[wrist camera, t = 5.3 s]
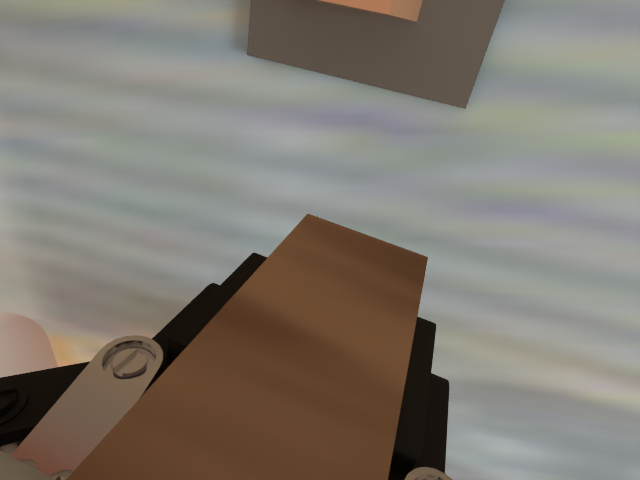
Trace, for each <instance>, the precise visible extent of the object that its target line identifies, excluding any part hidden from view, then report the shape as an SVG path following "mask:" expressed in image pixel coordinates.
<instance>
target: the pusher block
mask: <svg viewBox="0 0 640 480" xmlns="http://www.w3.org/2000/svg"><path fill="white" fill-rule="evenodd" d="M427 259H428V257H426V256H423V255H420V254H418V253H415V252H412V251H409V250H407V249H404V248H401V247H398V246H396V245H393V244H390V243H387V242H385V241H382V240H379V239H376V238H374V237H371V236H368V235H365V234H363V233H360V232H357V231H354V230H352V229H349V228H346V227H343V226H341V225H338V224H335V223H332V222H330V221H327V220H324V219H321V218H319V217H316V216H313V215H310V214H307V215H306V216H305V217H304V218H303V220H302V221H301V222H300V223H299V224H298V225H297V226H296V227H295V228H294V229H293V231H292V232H291V233H290V234H289V235H288V236H287V237H286V238H285V239H284V240H283V242H282V243H281V244H280V245H279V246H278V247H277V248H276V249H275V250H274V251H273V253H272V254H271V255H270V256H269V257H268V258H267V259H266V260H265V261H264V262H263V264H262V265H261V266H260V267H259V268H258V269H257V270H256V271H255V272H254V273H253V275H252V276H251V277H250V278H249V279H248V280H247V281H246V282H245V283H244V284H243V286H242V287H241V288H240V289H239V290H238V291H237V292H236V293H235V294H234V295H233V296H232V298H231V299H230V300H229V301H228V302H227V303H226V304H225V305H224V306H223V307H222V309H221V310H220V311H219V312H218V313H217V314H216V315H215V316H214V317H213V318H212V320H211V321H210V322H209V323H208V324H207V325H206V326H205V327H204V328H203V329H202V331H201V332H200V333H199V334H198V335H197V336H196V337H195V338H194V339H193V340H192V342H191V343H190V344H189V345H188V346H187V347H186V348H185V349H184V350H183V351H182V353H181V354H180V355H179V356H178V357H177V358H176V359H175V360H174V361H173V362H172V364H171V365H170V366H169V367H168V368H167V369H166V370H165V371H164V372H163V373H162V375H161V376H160V377H159V378H158V379H157V380H156V381H155V382H154V383H153V384H152V386H151V387H150V388H149V389H148V390H147V391H146V392H145V393H144V394H143V395H142V397H141V398H140V399H139V400H138V401H137V402H136V403H135V404H134V405H133V406H132V408H131V409H130V410H129V411H128V412H127V413H126V414H125V415H124V416H123V417H122V419H121V420H120V421H119V422H118V423H117V424H116V425H115V426H114V427H113V428H112V430H111V431H110V432H109V433H108V434H107V435H106V436H105V437H104V438H103V439H102V441H101V442H100V443H99V444H98V445H97V446H96V447H95V448H94V449H93V450H92V452H91V453H90V454H89V455H88V456H87V457H86V458H85V459H84V460H83V461H82V463H81V464H80V465H79V466H78V467H77V468H76V469H75V470H74V471H73V472H72V474H71V475H70V476H69V477H68V478H67V479H66V480H388V476H389V470H390V465H391V459H392V454H393V448H394V443H395V437H396V432H397V426H398V420H399V415H400V409H401V404H402V398H403V393H404V387H405V382H406V376H407V370H408V365H409V359H410V354H411V348H412V343H413V337H414V332H415V326H416V320H417V315H418V309H419V304H420V298H421V293H422V287H423V282H424V276H425V270H426V265H427Z"/></svg>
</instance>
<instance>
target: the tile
mask: <svg viewBox="0 0 640 480" xmlns="http://www.w3.org/2000/svg"><path fill="white" fill-rule="evenodd" d="M315 1H320V2H324V3H329V4H334V5H339V6H343V7H348V8H353V9H358V10H363V11H367V12H372V13H377V14H382V15H386V16H391V17H396V18H401V19H406V20H410V21H415V22H417V19H418V16H419V12H420V8H421V4H422V1H423V0H315Z"/></svg>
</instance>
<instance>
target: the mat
mask: <svg viewBox="0 0 640 480" xmlns="http://www.w3.org/2000/svg"><path fill="white" fill-rule="evenodd" d="M503 3H504V0H423V1H422V4H421V8H420V12H419V16H418V19H417V22H415V21H410V20H406V19H401V18H396V17H391V16H386V15H382V14H377V13H372V12H367V11H363V10H358V9H353V8H348V7H343V6H339V5H334V4H329V3H324V2H320V1H315V0H251V11H250V24H249V37H248V50H247V55H250V56H254V57H258V58H262V59H266V60H270V61H274V62H278V63H283V64H287V65H291V66H295V67H299V68H303V69H307V70H311V71H315V72H319V73H323V74H327V75H331V76H335V77H339V78H343V79H347V80H351V81H355V82H360V83H364V84H368V85H372V86H376V87H380V88H384V89H388V90H392V91H396V92H400V93H404V94H408V95H412V96H416V97H420V98H424V99H428V100H433V101H437V102H441V103H445V104H449V105H453V106H457V107H461V108H465V109H466V106H467V103H468V100H469V97H470V95H471V92H472V89H473V86H474V84H475V81H476V78H477V75H478V72H479V70H480V67H481V64H482V61H483V59H484V56H485V53H486V50H487V48H488V45H489V42H490V39H491V36H492V34H493V31H494V28H495V25H496V23H497V20H498V17H499V14H500V11H501V9H502V6H503Z"/></svg>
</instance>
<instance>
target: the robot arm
mask: <svg viewBox="0 0 640 480" xmlns="http://www.w3.org/2000/svg"><path fill="white" fill-rule="evenodd" d="M266 259H267V257H264V256H262V255H259V254H257V253H252V254H251V255H250V256H249V257H248V258H247V259H246V260H245V261H244V262H243V263H242V264H241V265H240V266H239V267H238V268H237V269H236V270H235V271H234V272H233V273H232V274H231V275H230V276H229V277H228V278H227V279H226V280H225V281H224V282H223V283H222V284H221V285H217V284H215V283H212V284H210V285H208V286H207V287H206V288H205V289H204V290H203V291H202V292H201V293H200V294H199V295H198V296H197V297H196V298H194V299H193V300H192V301H191V302H190V303H189V304H188V305H187V306H186V307H185V308H184V309H183V310H182V311H181V312H180V313H179V314H178V315H177V316H176V317H175V318H174V319H172V320H171V321H170V322H169V323H168V324H167V325H166V326H165V327H164V328H163V329H162V330H161V331H160V332H159V333H158V334H157V335H156V336H155V337H154V338H153V339H150V338H147V337H143V336H126V337H122V338H119V339H116V340H114V341H112V342H110V343H108V344H107V345H106V346H104V347H103V348H102V349H101V350H100V351H99V352H98V353H97V355H96V356H95V357H94V358H93V359H92V360H91V361H90V362H85V363H79V364H74V365H68V366H63V367H57V368H52V369H46V370H41V371H35V372H30V373H25V374H19V375H13V376H8V377H2V378H0V480H66V479H67V478H68V477H69V476H70V475H71V474H72V472H73V471H74V470H75V469H76V468H77V467H78V466H79V465H80V464H81V463H82V461H83V460H84V459H85V458H86V457H87V456H88V455H89V454H90V453H91V452H92V450H93V449H94V448H95V447H96V446H97V445H98V444H99V443H100V442H101V441H102V439H103V438H104V437H105V436H106V435H107V434H108V433H109V432H110V431H111V430H112V428H113V427H114V426H115V425H116V424H117V423H118V422H119V421H120V420H121V419H122V417H123V416H124V415H125V414H126V413H127V412H128V411H129V410H130V409H131V408H132V406H133V405H134V404H135V403H136V402H137V401H138V400H139V399H140V398H141V397H142V395H143V394H144V393H145V392H146V391H147V390H148V389H149V388H150V387H151V386H152V384H153V383H154V382H155V381H156V380H157V379H158V378H159V377H160V376H161V375H162V373H163V372H164V371H165V370H166V369H167V368H168V367H169V366H170V365H171V364H172V362H173V361H174V360H175V359H176V358H177V357H178V356H179V355H180V354H181V353H182V351H183V350H184V349H185V348H186V347H187V346H188V345H189V344H190V343H191V342H192V340H193V339H194V338H195V337H196V336H197V335H198V334H199V333H200V332H201V331H202V329H203V328H204V327H205V326H206V325H207V324H208V323H209V322H210V321H211V320H212V318H213V317H214V316H215V315H216V314H217V313H218V312H219V311H220V310H221V309H222V307H223V306H224V305H225V304H226V303H227V302H228V301H229V300H230V299H231V298H232V296H233V295H234V294H235V293H236V292H237V291H238V290H239V289H240V288H241V287H242V286H243V284H244V283H245V282H246V281H247V280H248V279H249V278H250V277H251V276H252V275H253V273H254V272H255V271H256V270H257V269H258V268H259V267H260V266H261V265H262V264H263V262H264V261H265V260H266ZM435 332H436V324H435V323H433V322H430V321H427V320H425V319H422V318H420V317H417V320H416V326H415V332H414V337H413V343H412V348H411V354H410V359H409V365H408V370H407V376H406V382H405V387H404V393H403V398H402V404H401V409H400V415H399V420H398V426H397V432H396V437H395V443H394V448H393V454H392V459H391V465H390V470H389V476H388V480H452V479H451V478H450V477H448V476H447V475H446V474H445V458H446V439H447V420H448V401H449V382H448V380H446V379H444V378H441V377H439V376H437V375H434V374H432V373H431V368H432V359H433V350H434V341H435Z"/></svg>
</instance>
